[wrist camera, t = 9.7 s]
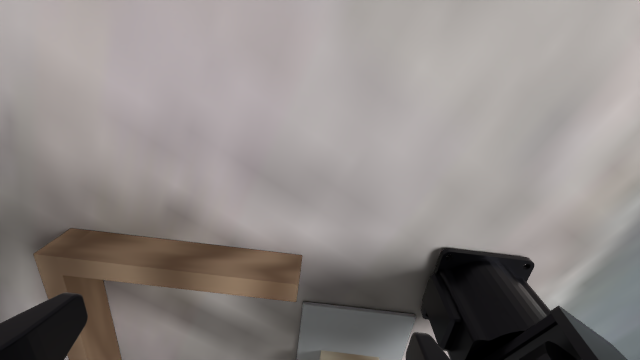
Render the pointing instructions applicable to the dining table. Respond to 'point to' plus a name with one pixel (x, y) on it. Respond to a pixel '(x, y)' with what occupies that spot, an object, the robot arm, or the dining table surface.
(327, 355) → the birch block
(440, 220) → the dining table surface
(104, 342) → the walnut u-shaped frame
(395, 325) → the grey mat
